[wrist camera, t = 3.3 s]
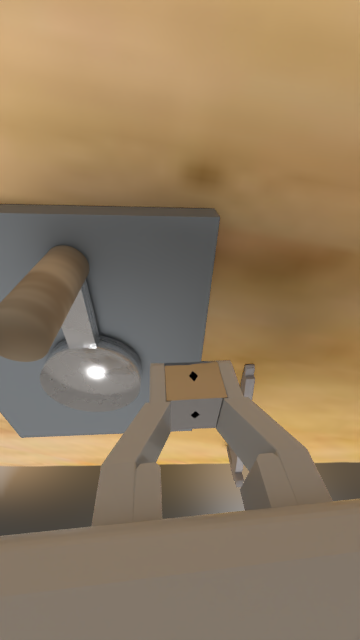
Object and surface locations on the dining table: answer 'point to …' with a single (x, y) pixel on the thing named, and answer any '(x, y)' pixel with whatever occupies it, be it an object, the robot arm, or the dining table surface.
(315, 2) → the dining table surface
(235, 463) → the caliper
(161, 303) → the base plate
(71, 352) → the wooden knob lever
